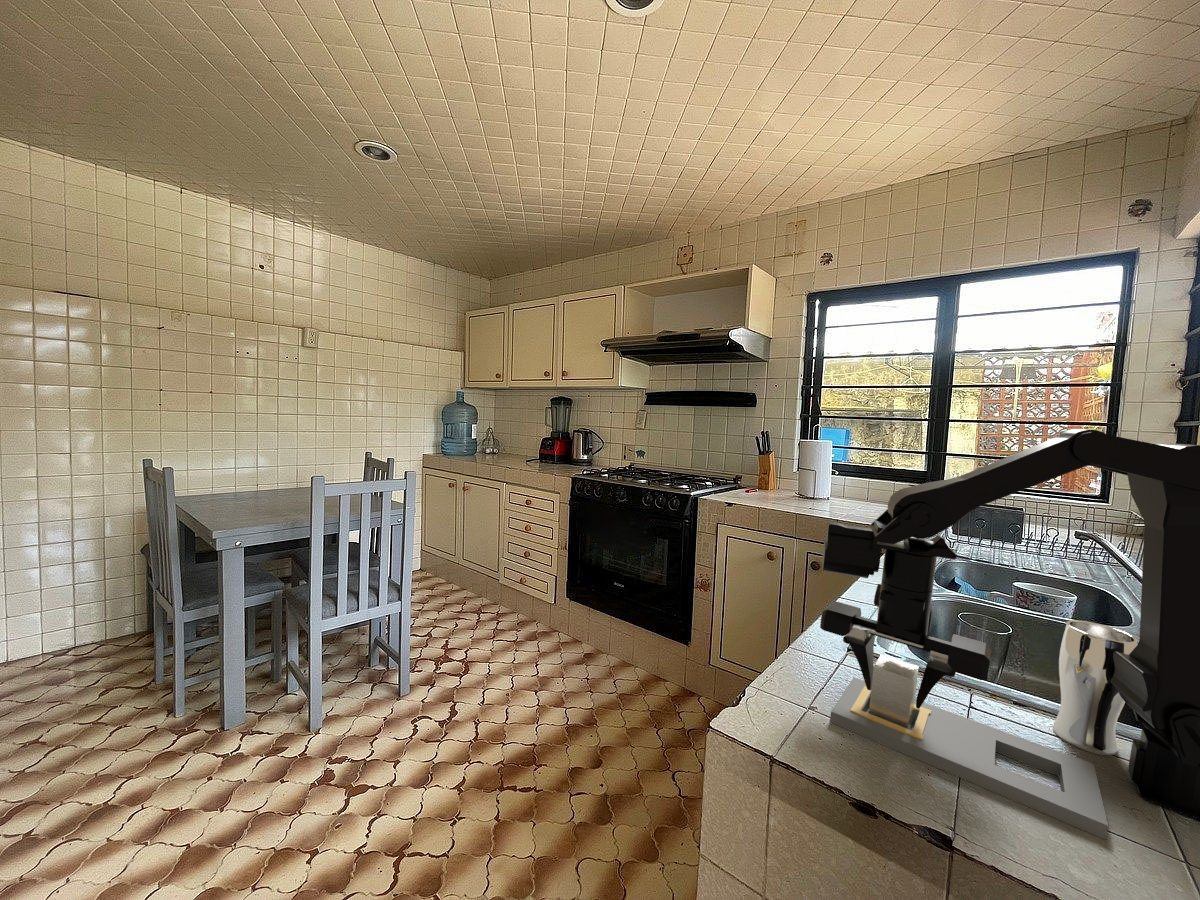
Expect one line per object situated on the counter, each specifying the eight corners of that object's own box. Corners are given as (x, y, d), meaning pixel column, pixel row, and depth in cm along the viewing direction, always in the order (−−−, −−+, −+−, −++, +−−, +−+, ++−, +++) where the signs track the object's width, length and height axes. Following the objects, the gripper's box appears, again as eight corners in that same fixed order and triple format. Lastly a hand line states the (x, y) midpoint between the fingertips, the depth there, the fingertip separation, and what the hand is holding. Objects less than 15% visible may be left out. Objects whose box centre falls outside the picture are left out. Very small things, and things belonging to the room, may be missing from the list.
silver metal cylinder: (1036, 727, 68) (1052, 621, 66) (1067, 719, 70) (1083, 617, 69) (1102, 763, 61) (1121, 646, 60) (1133, 752, 64) (1152, 640, 62)
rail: (1091, 775, 59) (1093, 762, 59) (1105, 839, 50) (1108, 823, 50) (852, 686, 75) (853, 675, 75) (829, 722, 66) (831, 709, 66)
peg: (912, 723, 67) (918, 666, 66) (906, 739, 64) (913, 679, 63) (875, 708, 70) (880, 654, 69) (867, 723, 67) (873, 666, 66)
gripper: (998, 589, 66) (983, 702, 67) (845, 555, 77) (835, 652, 79) (996, 613, 57) (978, 741, 58) (824, 571, 69) (813, 679, 70)
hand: (893, 697), depth 67 cm, fingers open, 5 cm apart
